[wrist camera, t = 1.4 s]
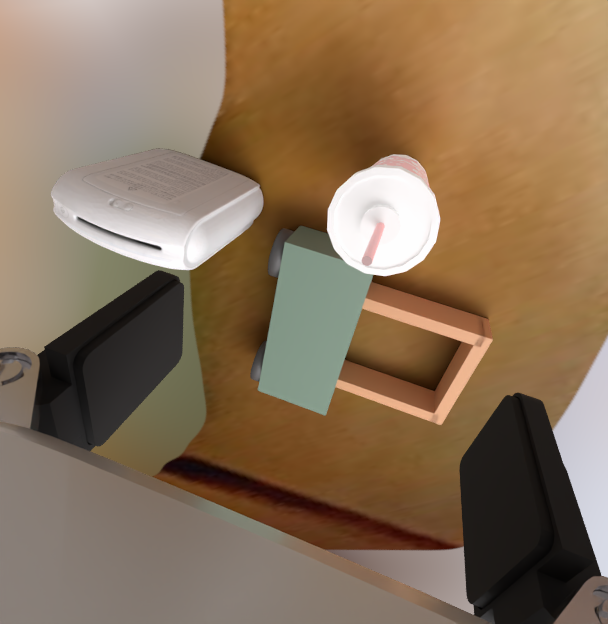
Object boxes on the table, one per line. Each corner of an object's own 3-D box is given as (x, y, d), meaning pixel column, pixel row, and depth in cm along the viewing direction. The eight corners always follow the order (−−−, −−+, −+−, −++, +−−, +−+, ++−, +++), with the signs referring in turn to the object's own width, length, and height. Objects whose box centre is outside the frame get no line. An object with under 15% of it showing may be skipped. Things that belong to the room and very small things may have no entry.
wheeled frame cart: (289, 221, 32) (272, 238, 29) (506, 288, 30) (514, 314, 27) (263, 362, 41) (248, 386, 38) (429, 422, 39) (428, 454, 35)
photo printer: (154, 189, 34) (36, 236, 24) (156, 140, 32) (25, 168, 22) (259, 229, 33) (182, 294, 23) (269, 180, 31) (187, 230, 21)
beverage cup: (453, 203, 28) (464, 291, 16) (378, 240, 31) (342, 336, 19) (416, 123, 26) (399, 160, 15) (340, 171, 29) (275, 232, 18)
